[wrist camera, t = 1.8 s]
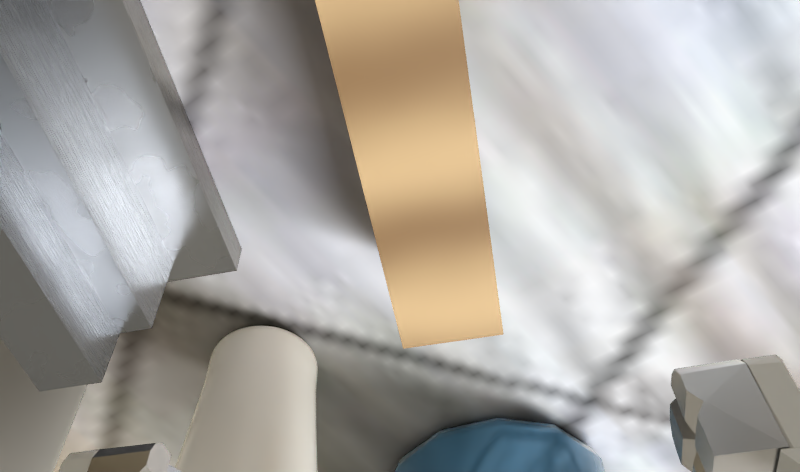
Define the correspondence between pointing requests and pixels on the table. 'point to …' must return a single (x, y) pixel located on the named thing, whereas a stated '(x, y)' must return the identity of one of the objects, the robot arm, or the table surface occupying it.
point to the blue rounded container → (502, 449)
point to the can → (32, 419)
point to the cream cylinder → (255, 406)
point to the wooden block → (417, 161)
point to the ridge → (94, 186)
